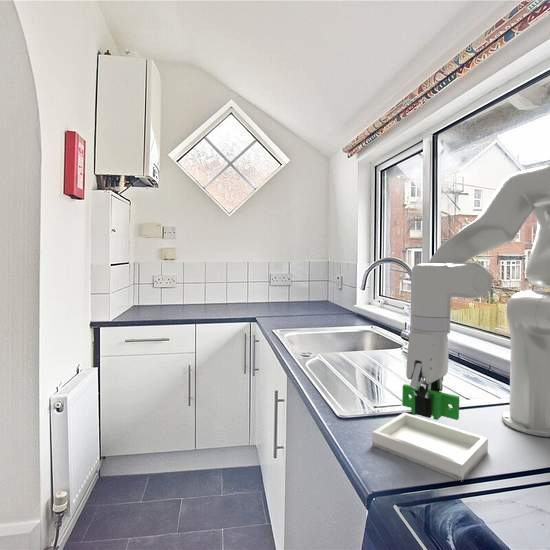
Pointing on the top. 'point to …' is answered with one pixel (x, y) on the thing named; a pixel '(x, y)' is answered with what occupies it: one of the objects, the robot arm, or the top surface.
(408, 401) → the pipe clamp
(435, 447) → the tray
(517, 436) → the top surface
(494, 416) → the top surface
